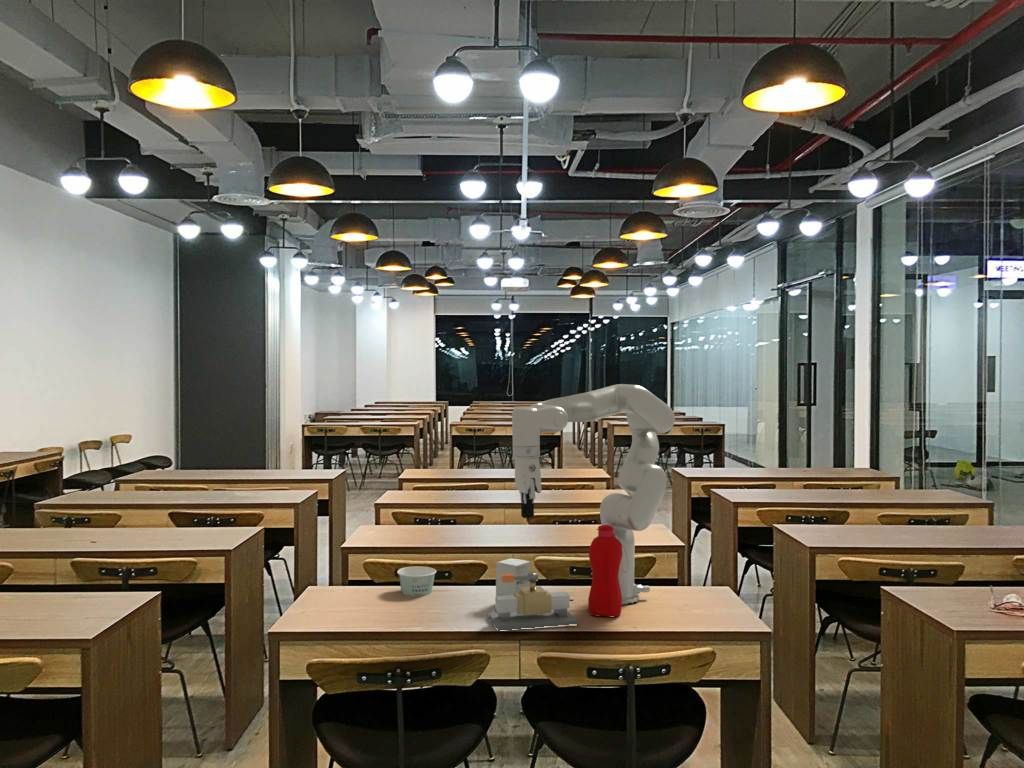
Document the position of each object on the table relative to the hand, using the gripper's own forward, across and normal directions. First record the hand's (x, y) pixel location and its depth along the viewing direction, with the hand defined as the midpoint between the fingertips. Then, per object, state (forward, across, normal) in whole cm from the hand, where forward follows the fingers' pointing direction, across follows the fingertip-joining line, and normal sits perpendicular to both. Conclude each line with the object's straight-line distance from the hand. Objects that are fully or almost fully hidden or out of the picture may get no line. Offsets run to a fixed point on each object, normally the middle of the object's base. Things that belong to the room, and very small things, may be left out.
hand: (527, 517), depth 243 cm
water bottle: (+29, -5, -22) cm, 36 cm away
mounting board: (+28, -6, +1) cm, 28 cm away
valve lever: (+16, -6, +5) cm, 18 cm away
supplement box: (+28, +12, +1) cm, 30 cm away
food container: (+28, +32, +26) cm, 50 cm away
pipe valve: (+26, -6, +1) cm, 27 cm away
